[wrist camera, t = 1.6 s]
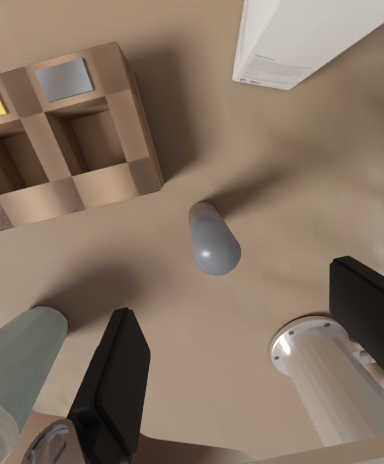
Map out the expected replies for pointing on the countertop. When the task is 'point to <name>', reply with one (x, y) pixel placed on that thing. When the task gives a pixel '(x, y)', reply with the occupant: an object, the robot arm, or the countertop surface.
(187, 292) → the countertop surface
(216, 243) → the peg
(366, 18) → the skincare box
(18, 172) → the socket block
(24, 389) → the disposable coffee cup
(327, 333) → the robot arm
